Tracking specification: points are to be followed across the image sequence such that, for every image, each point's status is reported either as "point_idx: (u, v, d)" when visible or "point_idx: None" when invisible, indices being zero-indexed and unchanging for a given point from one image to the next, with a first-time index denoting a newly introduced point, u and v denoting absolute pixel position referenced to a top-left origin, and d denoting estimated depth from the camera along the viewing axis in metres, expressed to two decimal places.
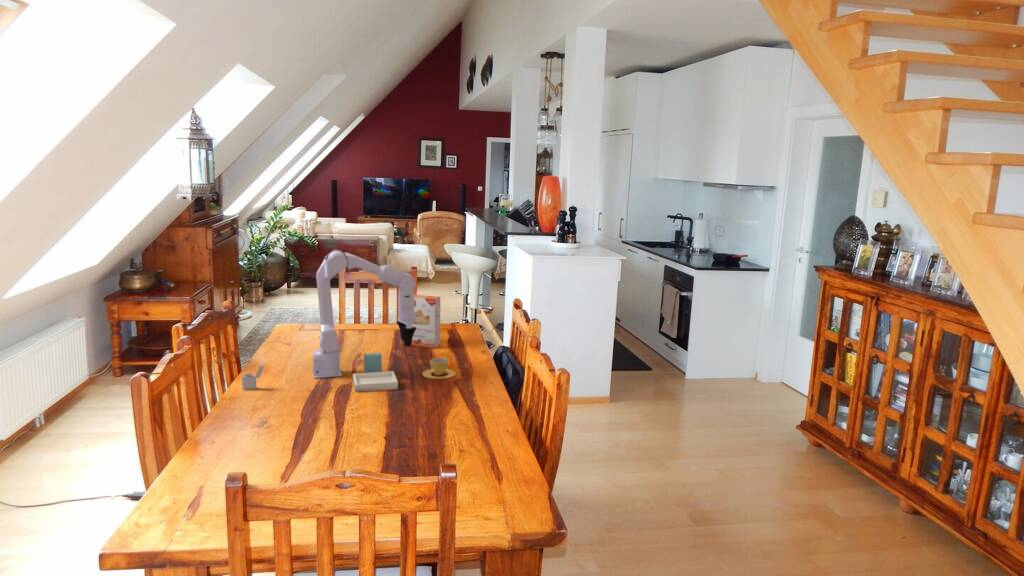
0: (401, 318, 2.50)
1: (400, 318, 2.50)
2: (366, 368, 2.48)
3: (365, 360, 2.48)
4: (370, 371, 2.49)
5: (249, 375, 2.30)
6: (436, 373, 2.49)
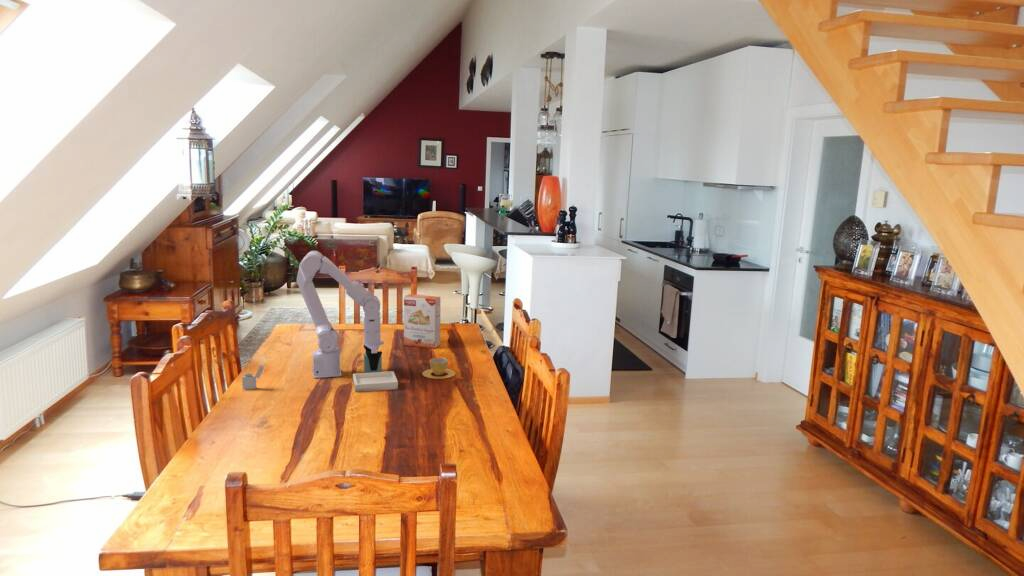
0: (367, 342, 2.46)
1: (366, 342, 2.46)
2: (366, 368, 2.48)
3: (365, 360, 2.48)
4: (370, 371, 2.49)
5: (249, 375, 2.30)
6: (436, 373, 2.49)
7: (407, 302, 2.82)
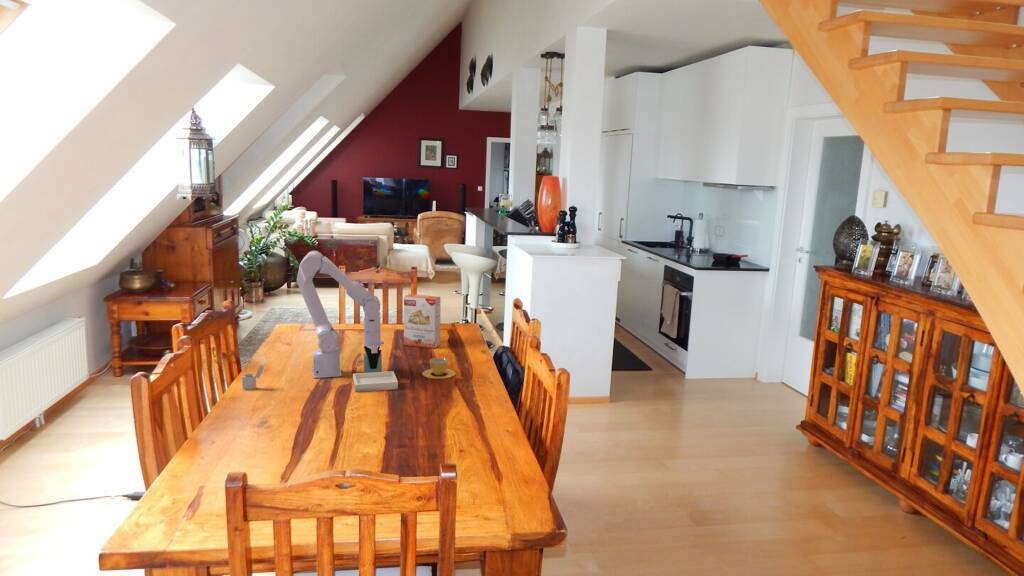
0: (367, 342, 2.46)
1: (366, 342, 2.46)
2: (366, 368, 2.48)
3: (365, 360, 2.48)
4: (370, 371, 2.49)
5: (249, 375, 2.30)
6: (436, 373, 2.49)
7: (407, 302, 2.82)
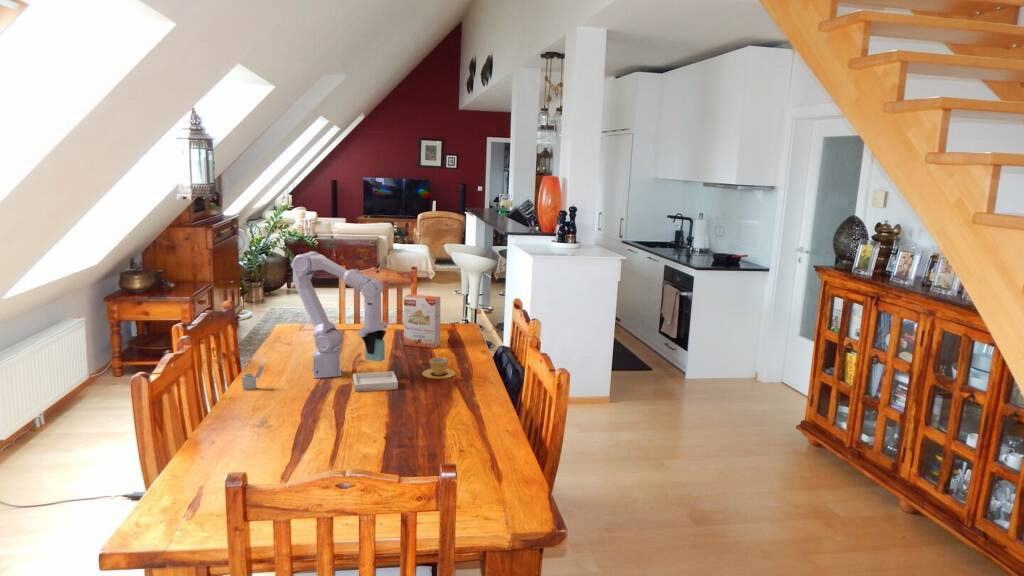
0: (365, 325, 2.41)
1: None
2: (366, 353, 2.43)
3: None
4: (370, 356, 2.43)
5: (249, 375, 2.30)
6: (436, 373, 2.50)
7: (407, 302, 2.82)
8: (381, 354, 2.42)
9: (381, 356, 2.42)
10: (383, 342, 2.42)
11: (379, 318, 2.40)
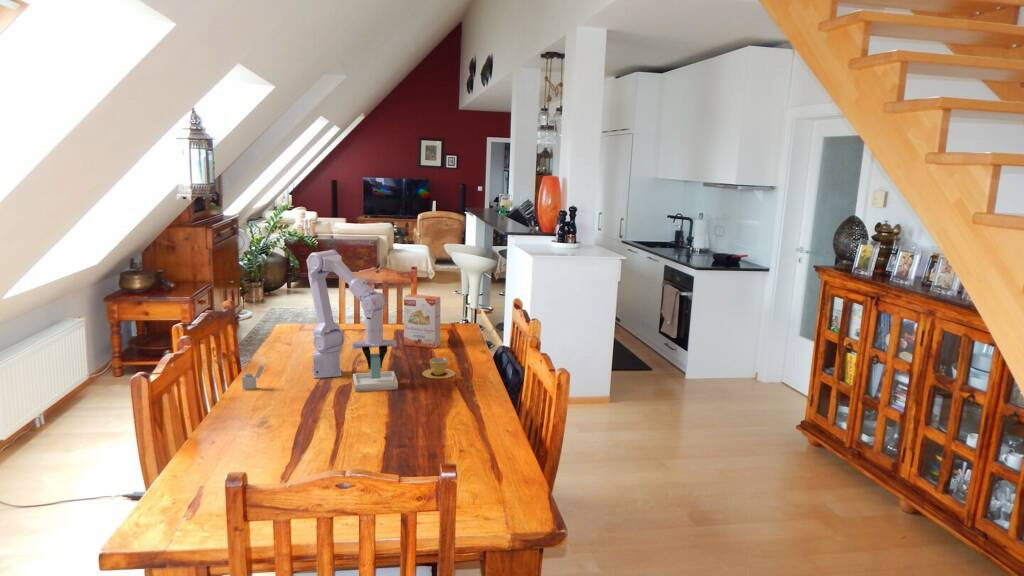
0: None
1: None
2: None
3: None
4: (370, 371, 2.38)
5: (249, 375, 2.30)
6: (436, 373, 2.50)
7: (407, 302, 2.82)
8: (374, 372, 2.34)
9: (374, 374, 2.34)
10: (378, 360, 2.33)
11: (374, 334, 2.32)
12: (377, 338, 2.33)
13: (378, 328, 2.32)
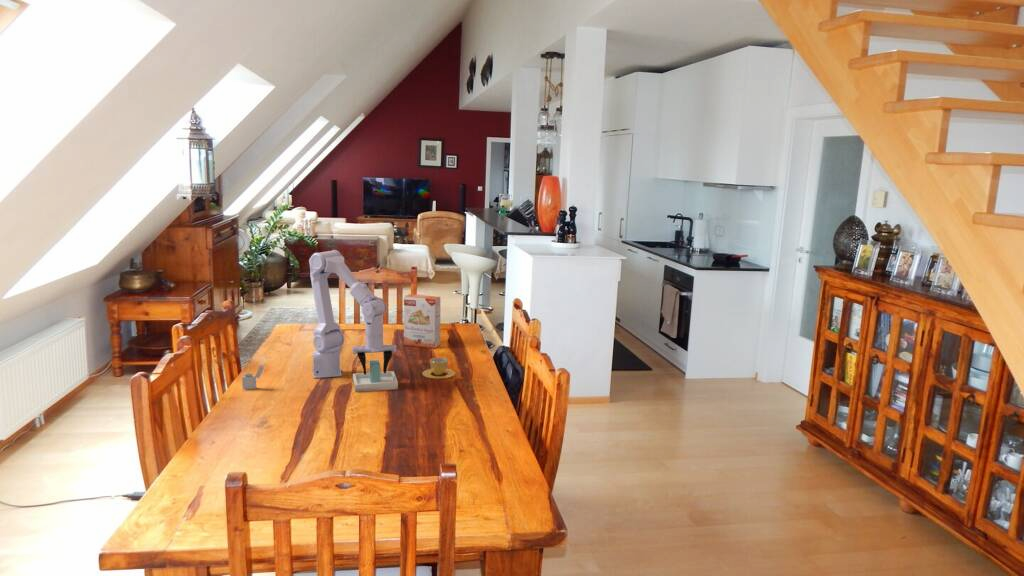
0: None
1: None
2: None
3: None
4: (370, 378, 2.38)
5: (249, 375, 2.30)
6: (436, 373, 2.50)
7: (407, 302, 2.82)
8: (374, 378, 2.34)
9: (374, 380, 2.34)
10: (378, 366, 2.34)
11: (374, 339, 2.32)
12: (377, 343, 2.33)
13: (378, 333, 2.33)
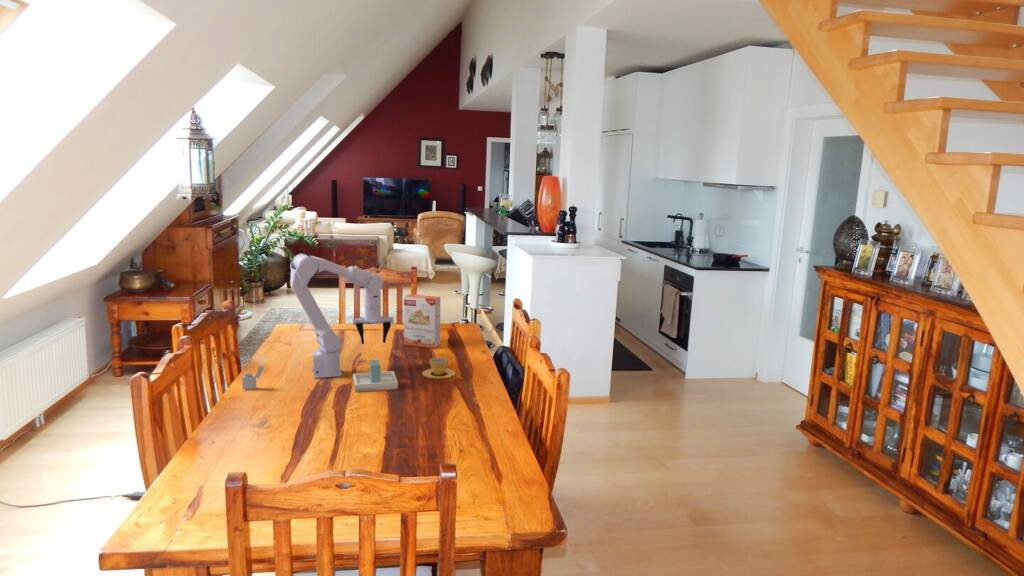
0: None
1: None
2: None
3: None
4: (370, 378, 2.38)
5: (249, 375, 2.30)
6: (436, 373, 2.50)
7: (407, 302, 2.82)
8: (374, 378, 2.34)
9: (374, 380, 2.34)
10: (378, 366, 2.34)
11: (372, 311, 2.50)
12: (375, 315, 2.51)
13: (380, 304, 2.53)
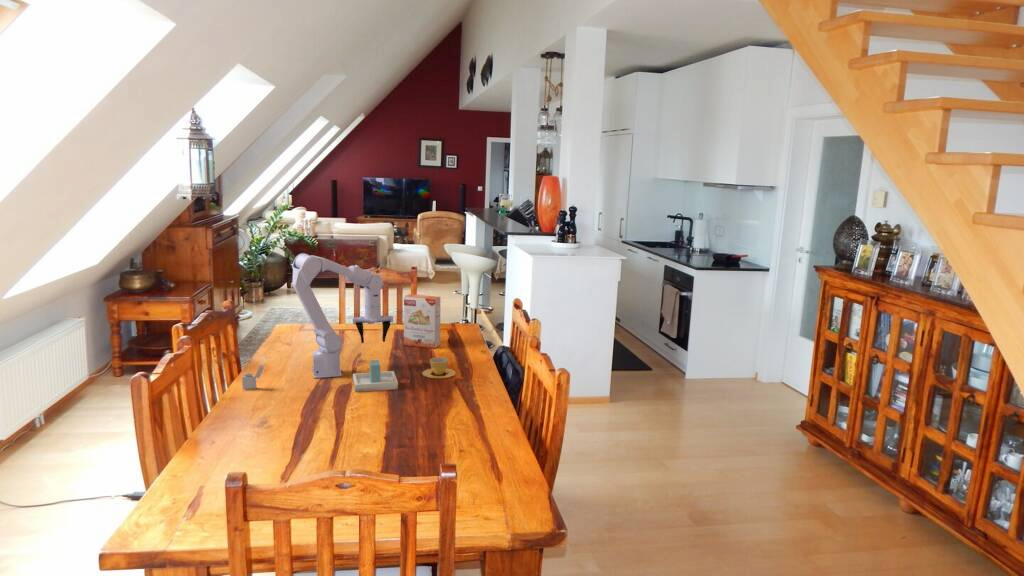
0: None
1: None
2: None
3: None
4: (370, 378, 2.38)
5: (249, 375, 2.30)
6: (436, 372, 2.50)
7: (407, 302, 2.82)
8: (374, 378, 2.34)
9: (374, 380, 2.34)
10: (378, 366, 2.34)
11: (372, 310, 2.52)
12: (375, 314, 2.52)
13: (380, 303, 2.55)
